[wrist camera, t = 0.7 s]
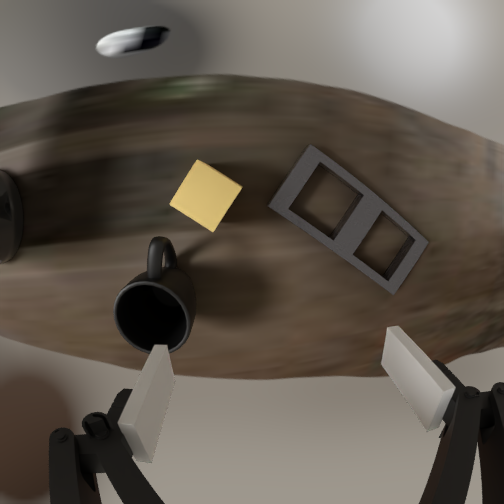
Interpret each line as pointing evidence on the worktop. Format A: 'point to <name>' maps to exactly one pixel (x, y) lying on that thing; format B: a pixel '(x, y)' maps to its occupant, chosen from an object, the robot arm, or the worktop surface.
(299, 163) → the frame with square openings
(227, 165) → the worktop surface
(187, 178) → the yellow block
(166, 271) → the mug
